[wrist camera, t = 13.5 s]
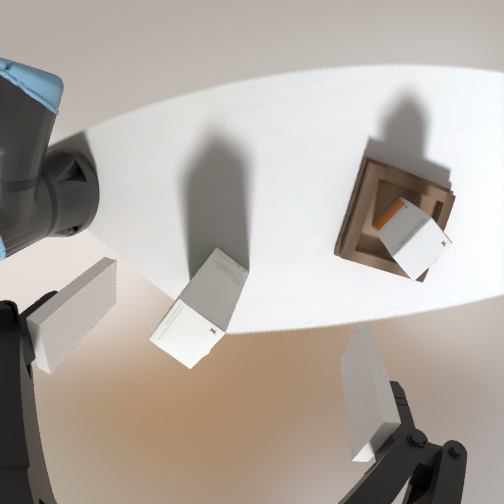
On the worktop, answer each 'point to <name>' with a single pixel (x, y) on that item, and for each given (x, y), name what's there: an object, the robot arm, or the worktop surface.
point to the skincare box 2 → (411, 237)
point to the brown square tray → (377, 203)
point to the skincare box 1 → (201, 310)
